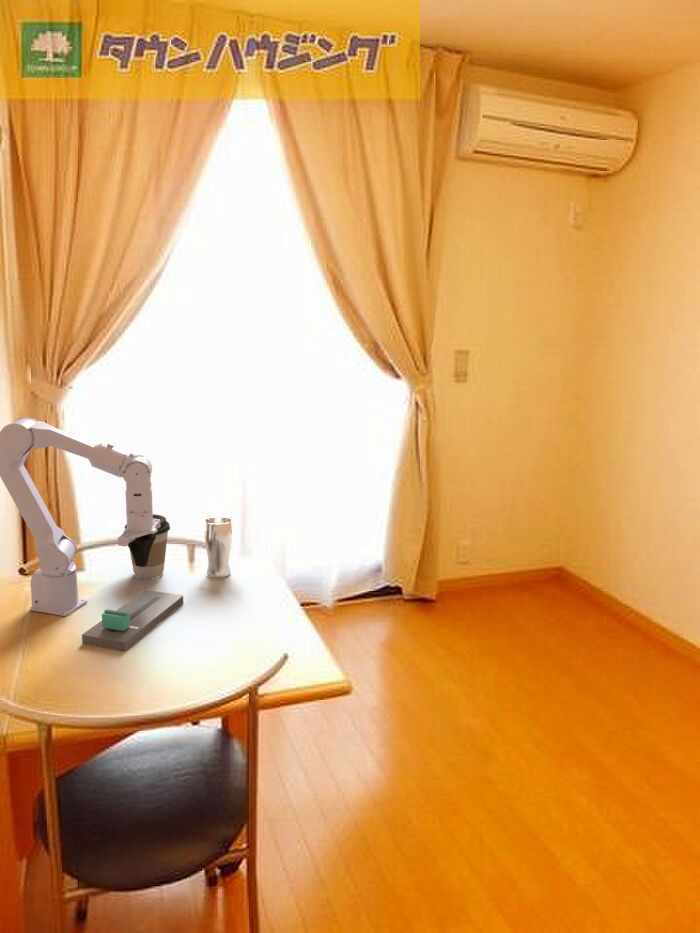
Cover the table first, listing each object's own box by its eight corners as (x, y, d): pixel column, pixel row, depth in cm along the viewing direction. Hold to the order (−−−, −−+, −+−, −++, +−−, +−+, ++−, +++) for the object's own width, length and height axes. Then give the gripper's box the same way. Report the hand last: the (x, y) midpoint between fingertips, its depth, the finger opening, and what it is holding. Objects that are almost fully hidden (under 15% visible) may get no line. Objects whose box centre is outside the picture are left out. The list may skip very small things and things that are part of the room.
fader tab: (102, 627, 137) (101, 612, 136) (109, 622, 139) (108, 607, 139) (123, 631, 136) (123, 615, 135) (130, 625, 138) (129, 611, 138)
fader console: (82, 643, 135) (81, 634, 135) (145, 597, 158) (145, 589, 157) (125, 651, 133) (124, 641, 132) (183, 603, 155) (183, 595, 155)
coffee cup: (142, 563, 179) (140, 510, 175) (179, 569, 175) (178, 515, 172) (116, 578, 168) (114, 522, 165) (155, 585, 165) (153, 528, 161)
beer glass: (210, 568, 177) (210, 515, 174) (235, 570, 176) (235, 517, 173) (201, 578, 170) (200, 523, 167) (227, 580, 170) (226, 525, 166)
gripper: (137, 520, 142) (139, 579, 145) (171, 503, 155) (172, 557, 159) (108, 517, 143) (111, 575, 146) (144, 500, 157) (146, 553, 160)
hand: (141, 565), depth 153 cm, fingers closed
